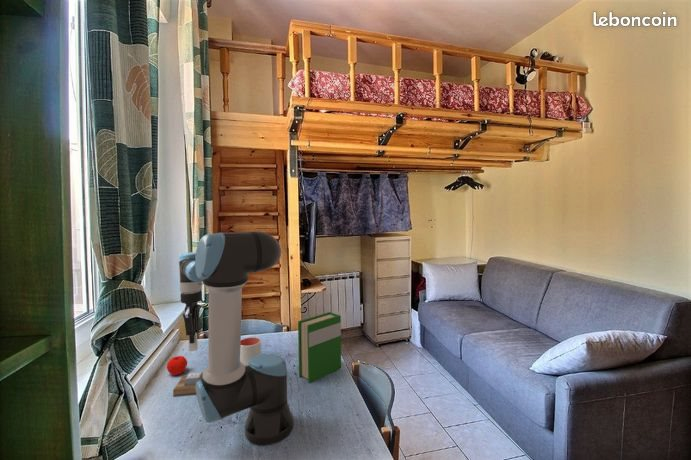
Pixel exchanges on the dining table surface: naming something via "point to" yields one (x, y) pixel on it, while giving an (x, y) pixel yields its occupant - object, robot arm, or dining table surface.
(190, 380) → the key three dots
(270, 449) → the dining table surface
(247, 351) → the cup
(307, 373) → the hardback book
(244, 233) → the robot arm
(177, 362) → the apple
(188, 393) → the key board
